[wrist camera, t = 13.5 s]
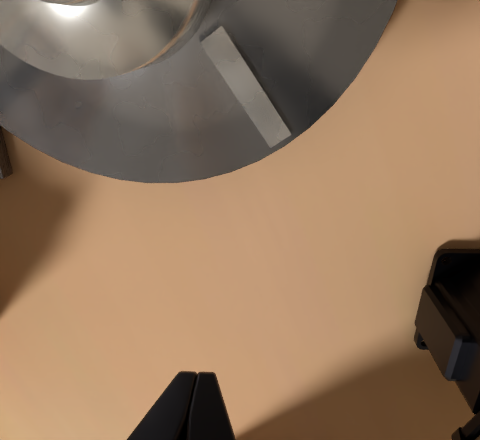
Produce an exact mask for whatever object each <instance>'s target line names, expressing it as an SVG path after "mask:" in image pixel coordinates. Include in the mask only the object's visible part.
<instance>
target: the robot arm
mask: <svg viewBox="0 0 480 440" xmlns="http://www.w3.org/2000/svg"><path fill="white" fill-rule="evenodd" d="M445 257H448V259H447V260H445V261H442V259H443V258H445ZM415 325H416V327H417V328H416V332H415V336H414V341H415V343H416V345H417V347H418V348H419V349H423V350H429V351H430V353H431V355H432V356H433V358H434V360H435V362H436V364H437V366H438V367H439V369H440V371H441V373H442V375H443V376H444V377H445V378H446V379H447V380H448V381H455V382H456V384H457V386H458V388H459V389H460V391H461V393H462V395H463V396H464V398H465V400H466V402H467V403H468V405H469V407H470V409H471V410H472V412H473V413H474V414H475V416H474V417H473V418H472V419H471V420H470V421H469V422H468V423H467V424H466V425H465V426H464V427H463V428H461V427H459V428H458V429H457V430H456V431H455V432H454V433H453V434H452V440H480V250H477V249H441V250H439V251H438V252H437V253H436V254H435V255H434V258H433V262H432V266H431V270H430V274H429V278H428V282H427V285H426V286H425V287H424V288H423V290H422V294H421V299H420V303H419V307H418V311H417V315H416V320H415ZM423 340H424V341H423ZM127 440H236V439H235V436H234V433H233V429H232V426H231V423H230V420H229V416H228V413H227V410H226V406H225V403H224V400H223V397H222V393H221V390H220V387H219V384H218V380H217V377H216V374H215V373H214V372H199V373H198V374H197V373H196V372H191V371H181V372H179V373H178V374H177V375H176V376H175V378H174V379H173V380H172V382H171V383H170V384H169V385H168V387H167V388H166V389H165V391H164V392H163V393H162V395H161V396H160V397H159V398H158V400H157V401H156V402H155V404H154V405H153V406H152V408H151V409H150V410H149V411H148V413H147V414H146V415H145V417H144V418H143V419H142V421H141V422H140V423H139V424H138V426H137V427H136V428H135V430H134V431H133V432H132V434H131V435H130V436H129V437H128V439H127Z"/></svg>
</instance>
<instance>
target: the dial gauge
mask: <svg viewBox="0 0 480 440" xmlns="http://www.w3.org/2000/svg"><path fill="white" fill-rule="evenodd" d="M11 174H13V173H12V169H11V165H10V162H9V158H8V154H7V150H6V146H5V142H4V138H3V134H2V130H1V126H0V179H4V178H6V177H7V176H9V175H11Z"/></svg>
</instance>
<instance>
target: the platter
mask: <svg viewBox="0 0 480 440" xmlns="http://www.w3.org/2000/svg"><path fill="white" fill-rule="evenodd" d="M396 2H397V0H211V1H210V4H209V8H208V10H207V12H206V15H205V17H204V19H203V21H202V23H201V25H200V26H199V28H198V30H197V32H196V33H195V34H194V35H193V37H192V38H191V39H190V41H189V42H188V43H187V44H186V45H185V46H184V47H183V48H182V49H181V50H179V51H178V52H177V53H175V54H174V55H172V56H171V57H169V58H168V59H166V60H164V61H162V62H160V63H157V64H154V65H152V66H149V67H145V68H142V69H139V70H135V71H132V72H129V73H125V74H122V75H119V76H115V77H109V78H104V79H92V80H83V79H72V78H67V77H62V76H58V75H54V74H51V73H49V72H46V71H43V70H40V69H38V68H36V67H34V66H32V65H30V64H28V63H26V62H24V61H23V60H21V59H20V58H18V57H17V56H15V55H14V54H12V53H11V52H9V51H8V50H7V49H5V48H4V47H3V46H2V45H1V44H0V125H1V126H2V127H3V128H5V129H6V130H7V131H9V132H10V133H12V134H13V135H15V136H16V137H18V138H20V139H21V140H23V141H24V142H26V143H27V144H29V145H30V146H32V147H34V148H35V149H37V150H39V151H41V152H43V153H45V154H47V155H49V156H51V157H53V158H55V159H57V160H59V161H61V162H63V163H66V164H69V165H72V166H74V167H77V168H80V169H82V170H85V171H88V172H90V173H94V174H98V175H103V176H107V177H111V178H115V179H119V180H127V181H135V182H144V183H179V182H186V181H194V180H201V179H207V178H210V177H214V176H218V175H222V174H225V173H229V172H232V171H235V170H237V169H240V168H242V167H245V166H247V165H250V164H252V163H255V162H257V161H259V160H261V159H263V158H265V157H266V156H268V155H270V154H272V153H273V152H275V151H277V150H279V149H280V148H282V147H284V146H285V145H287V144H288V143H290V142H291V141H292V140H294V139H295V138H296V137H298V136H299V135H300V134H302V133H303V132H304V131H306V130H307V129H308V128H310V127H311V126H312V125H313V124H314V123H315V122H316V121H317V120H318V119H319V118H320V117H321V116H322V115H323V114H324V113H325V112H326V111H327V110H329V109H330V108H331V107H332V106H333V105H334V103H335V102H336V101H337V100H338V99H339V97H340V96H341V95H342V94H343V93H344V91H345V90H346V89H347V88H348V87H349V85H350V84H351V83H352V82H353V80H354V79H355V78H356V76H357V75H358V73H359V72H360V70H361V69H362V67H363V66H364V64H365V63H366V61H367V59H368V58H369V56H370V55H371V53H372V52H373V50H374V49H375V47H376V45H377V43H378V41H379V39H380V37H381V35H382V33H383V31H384V29H385V27H386V25H387V23H388V21H389V19H390V17H391V15H392V13H393V11H394V8H395V5H396Z"/></svg>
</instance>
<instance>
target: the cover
mask: <svg viewBox="0 0 480 440" xmlns="http://www.w3.org/2000/svg"><path fill="white" fill-rule="evenodd" d="M210 1H211V0H0V44H1V45H2V46H3V47H4V48H5V49H7V50H8V51H9V52H11V53H12V54H14V55H15V56H17V57H18V58H20V59H21V60H23V61H24V62H26V63H28V64H30V65H32V66H34V67H36V68H38V69H40V70H43V71H46V72H49V73H51V74H54V75H58V76H62V77H67V78H72V79H83V80H92V79H104V78H109V77H115V76H119V75H122V74H125V73H129V72H132V71H135V70H139V69H142V68H145V67H149V66H152V65H154V64H157V63H160V62H162V61H164V60H166V59H168V58H169V57H171V56H172V55H174V54H175V53H177V52H178V51H179V50H181V49H182V48H183V47H184V46H185V45H186V44H187V43H188V42H189V41H190V39H191V38H192V37H193V35H194V34H195V33H196V32H197V30H198V28H199V26H200V25H201V23H202V21H203V19H204V17H205V15H206V12H207V10H208V8H209V4H210Z"/></svg>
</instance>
